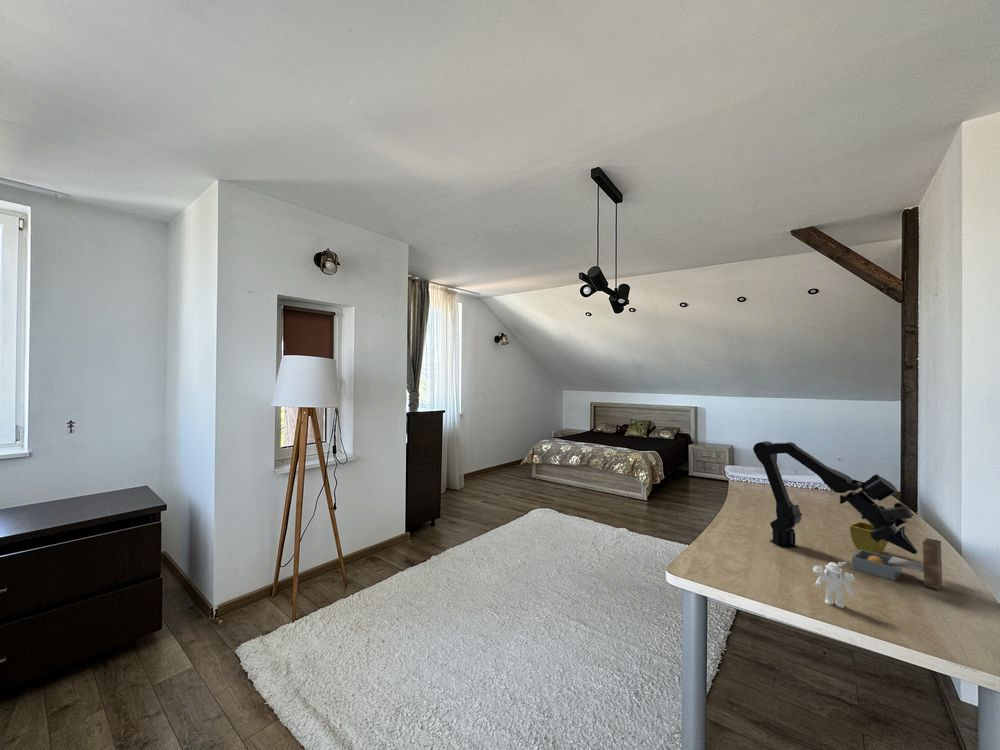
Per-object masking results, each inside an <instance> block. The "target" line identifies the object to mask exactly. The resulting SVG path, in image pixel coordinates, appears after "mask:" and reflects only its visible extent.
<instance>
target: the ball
mask: <svg viewBox="0 0 1000 750" xmlns="http://www.w3.org/2000/svg"><path fill="white" fill-rule="evenodd" d="M867 560H869V561H873V562H876V563H880V564H884V562H883V560H882V559H881V558H879V557H877V556H870V557H868V559H867Z"/></svg>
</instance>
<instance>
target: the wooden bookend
mask: <svg viewBox="0 0 1000 750" xmlns="http://www.w3.org/2000/svg"><path fill="white" fill-rule="evenodd" d="M941 542H942V541H941V540H938V539H934V538H928V537H926V538H924V540H923V541H922V553H923V554H922V556H923V557H922V560H923V563H919V562H917V561H912V560H908V559H905V558H901V557H897V556H894V555H893V556H891V557H892V558H891V559H890V560H889V561H888V563H889V564H893V565H896V566H900V567H901V568H905V569H908V570H912V571H916V572H918V573H919V572H920V573H923V584H924V585H923V586H924V587H926V586H927V588H930V587H931V588H930V589H934V588H935V589H934V590H937V589H938V591H940V589H941V588H942V586H943V572H942V571H943V567H942V543H941ZM941 585H942V586H941ZM940 587H941V588H940Z"/></svg>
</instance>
